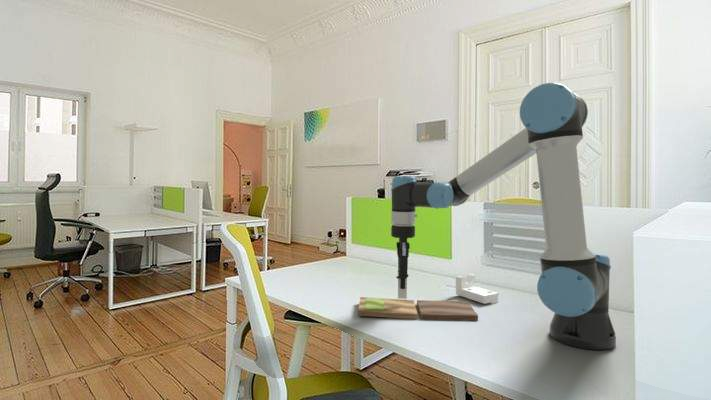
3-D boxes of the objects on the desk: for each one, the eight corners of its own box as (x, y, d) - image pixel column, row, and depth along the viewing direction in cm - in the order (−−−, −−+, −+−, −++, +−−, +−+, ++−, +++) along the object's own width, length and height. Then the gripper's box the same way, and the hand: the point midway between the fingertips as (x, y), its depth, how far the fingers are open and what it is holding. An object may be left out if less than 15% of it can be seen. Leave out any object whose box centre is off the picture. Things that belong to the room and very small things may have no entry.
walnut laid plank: (477, 320, 116) (478, 315, 116) (421, 319, 117) (421, 314, 117) (467, 305, 130) (467, 301, 130) (416, 304, 131) (416, 300, 131)
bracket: (455, 296, 141) (455, 276, 141) (469, 293, 145) (469, 273, 145) (484, 306, 130) (484, 284, 130) (498, 303, 134) (498, 281, 134)
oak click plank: (417, 319, 117) (417, 313, 117) (358, 315, 118) (358, 309, 118) (413, 304, 131) (413, 299, 131) (360, 301, 132) (360, 296, 132)
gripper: (417, 227, 117) (415, 304, 118) (413, 222, 130) (412, 292, 131) (392, 226, 117) (391, 303, 118) (390, 222, 130) (389, 291, 131)
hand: (402, 297), depth 125 cm, fingers closed
